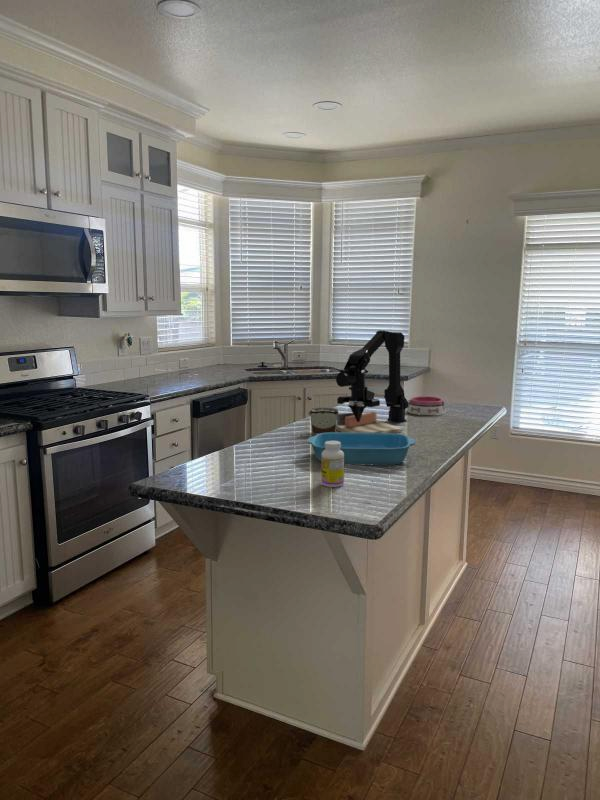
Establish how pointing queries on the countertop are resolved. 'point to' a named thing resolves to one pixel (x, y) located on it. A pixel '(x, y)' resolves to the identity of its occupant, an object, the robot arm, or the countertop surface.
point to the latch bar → (365, 419)
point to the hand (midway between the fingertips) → (358, 421)
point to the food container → (323, 420)
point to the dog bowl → (426, 405)
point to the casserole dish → (365, 447)
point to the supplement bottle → (332, 465)
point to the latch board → (365, 426)
